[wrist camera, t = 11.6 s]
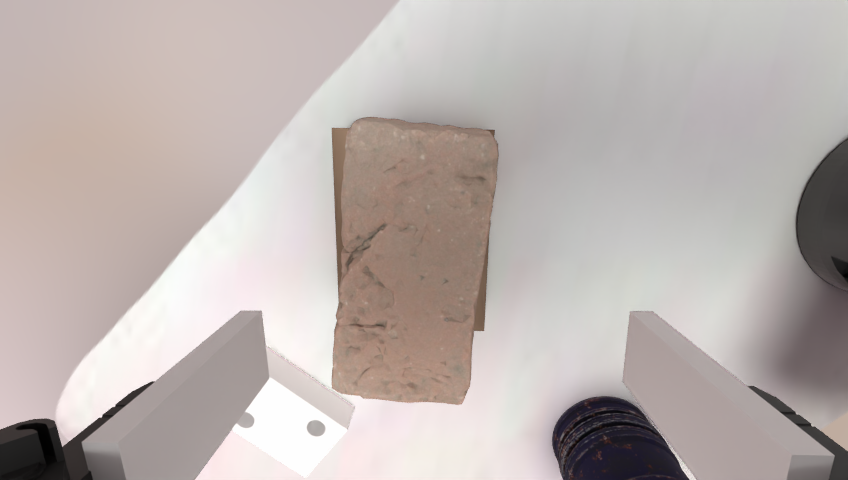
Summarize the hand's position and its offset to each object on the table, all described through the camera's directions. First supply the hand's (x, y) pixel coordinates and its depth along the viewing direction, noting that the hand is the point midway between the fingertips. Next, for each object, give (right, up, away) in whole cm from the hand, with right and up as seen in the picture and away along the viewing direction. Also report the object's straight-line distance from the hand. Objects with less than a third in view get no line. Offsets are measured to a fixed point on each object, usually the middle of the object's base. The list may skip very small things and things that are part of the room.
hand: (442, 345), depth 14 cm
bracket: (-15, -12, +26) cm, 32 cm away
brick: (-1, +3, +12) cm, 13 cm away
